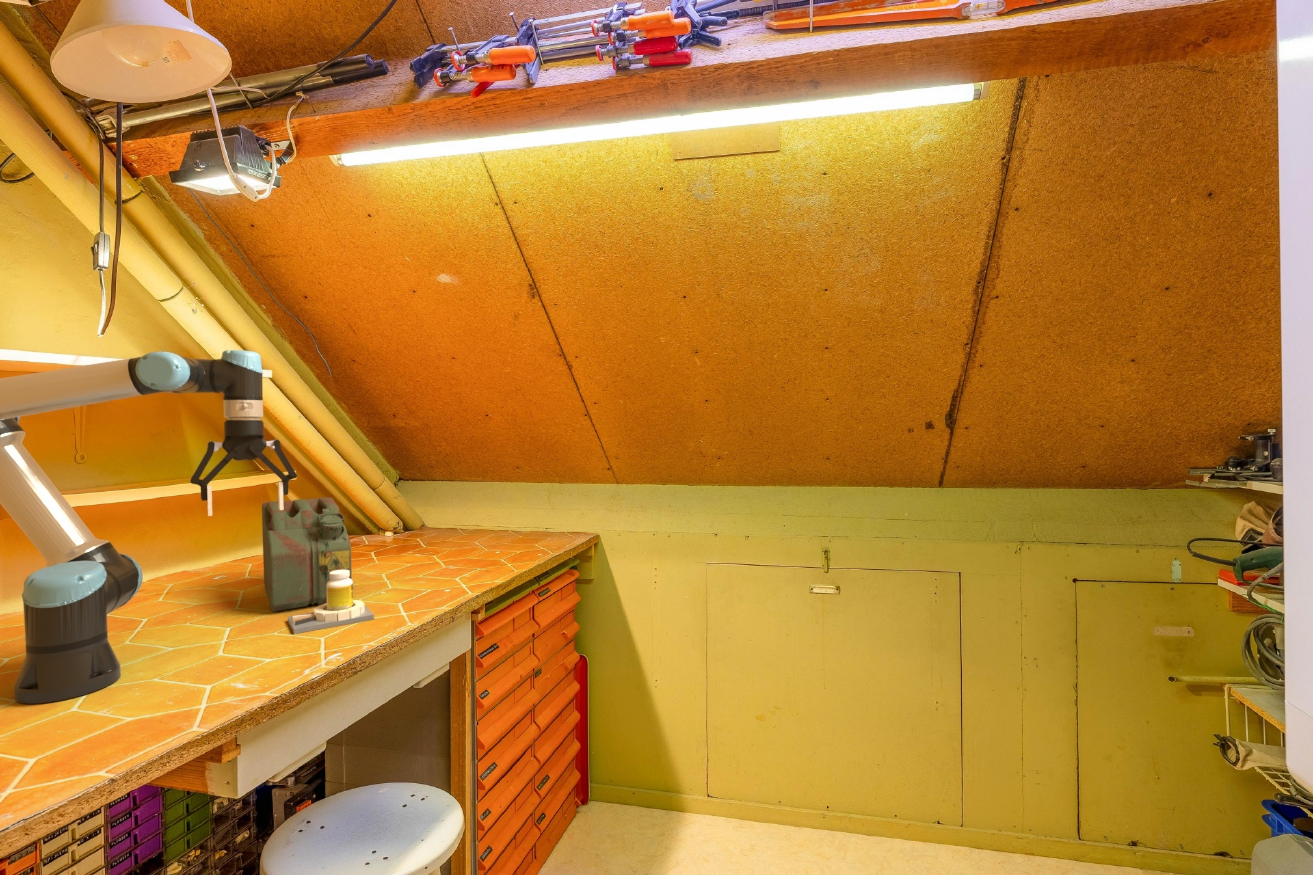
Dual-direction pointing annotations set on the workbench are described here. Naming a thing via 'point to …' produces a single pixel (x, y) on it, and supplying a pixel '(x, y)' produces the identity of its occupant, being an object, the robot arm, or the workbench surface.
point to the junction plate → (327, 624)
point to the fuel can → (302, 550)
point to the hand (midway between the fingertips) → (246, 512)
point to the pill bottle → (339, 591)
